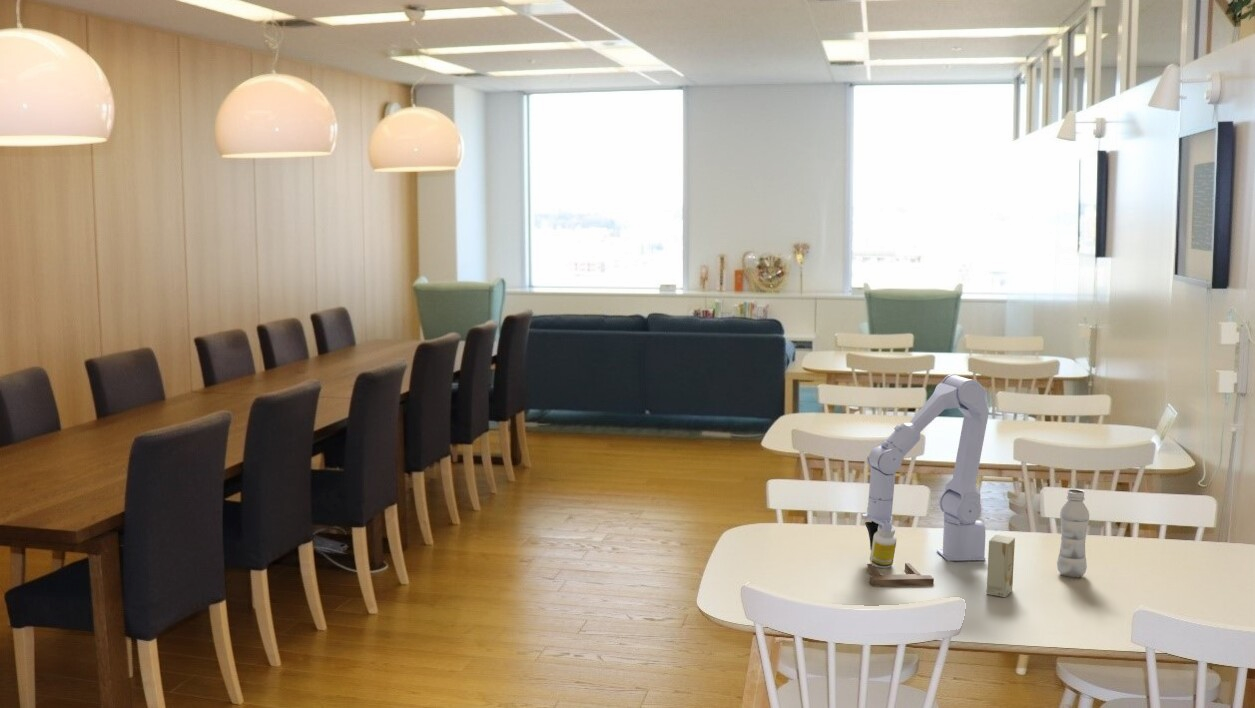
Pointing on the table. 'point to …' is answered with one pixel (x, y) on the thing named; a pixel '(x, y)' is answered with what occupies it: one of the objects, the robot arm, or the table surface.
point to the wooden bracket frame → (899, 577)
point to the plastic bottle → (1073, 535)
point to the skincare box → (1000, 565)
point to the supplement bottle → (883, 548)
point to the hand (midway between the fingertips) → (876, 552)
